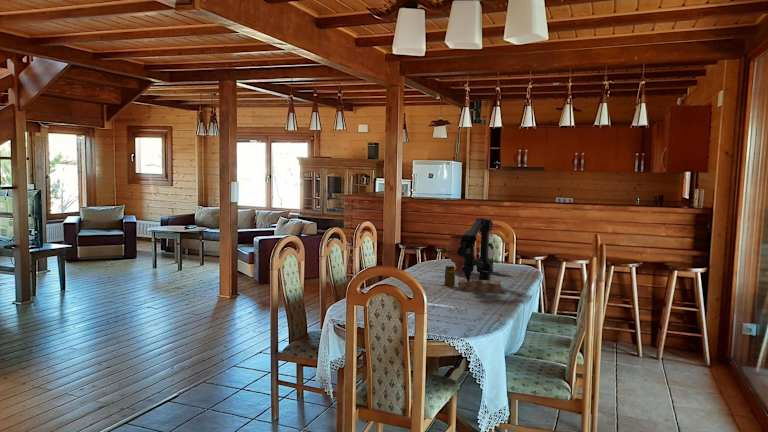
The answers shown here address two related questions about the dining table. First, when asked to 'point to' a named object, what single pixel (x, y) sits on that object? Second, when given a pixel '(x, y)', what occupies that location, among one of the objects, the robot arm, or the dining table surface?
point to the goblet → (455, 252)
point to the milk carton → (490, 253)
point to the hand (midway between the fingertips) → (468, 280)
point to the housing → (479, 285)
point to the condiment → (449, 277)
